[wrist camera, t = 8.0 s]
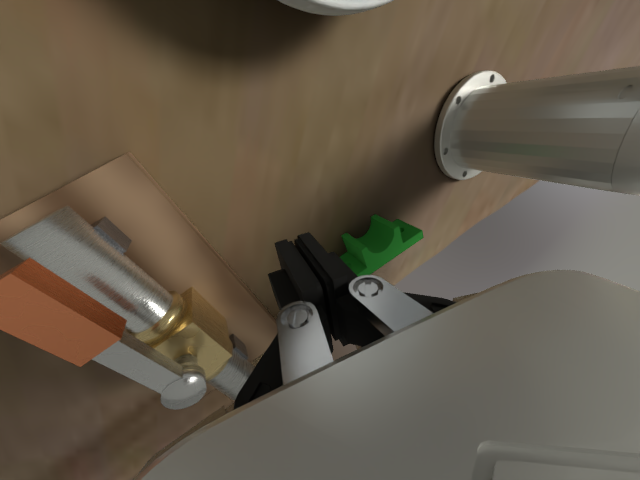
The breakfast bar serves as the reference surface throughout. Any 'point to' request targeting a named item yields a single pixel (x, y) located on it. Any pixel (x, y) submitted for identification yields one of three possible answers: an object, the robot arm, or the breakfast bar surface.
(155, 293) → the valve and pipe
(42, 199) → the valve stand
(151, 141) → the breakfast bar surface
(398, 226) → the pipe clamp
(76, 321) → the valve lever
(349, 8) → the serving bowl
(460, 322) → the robot arm
